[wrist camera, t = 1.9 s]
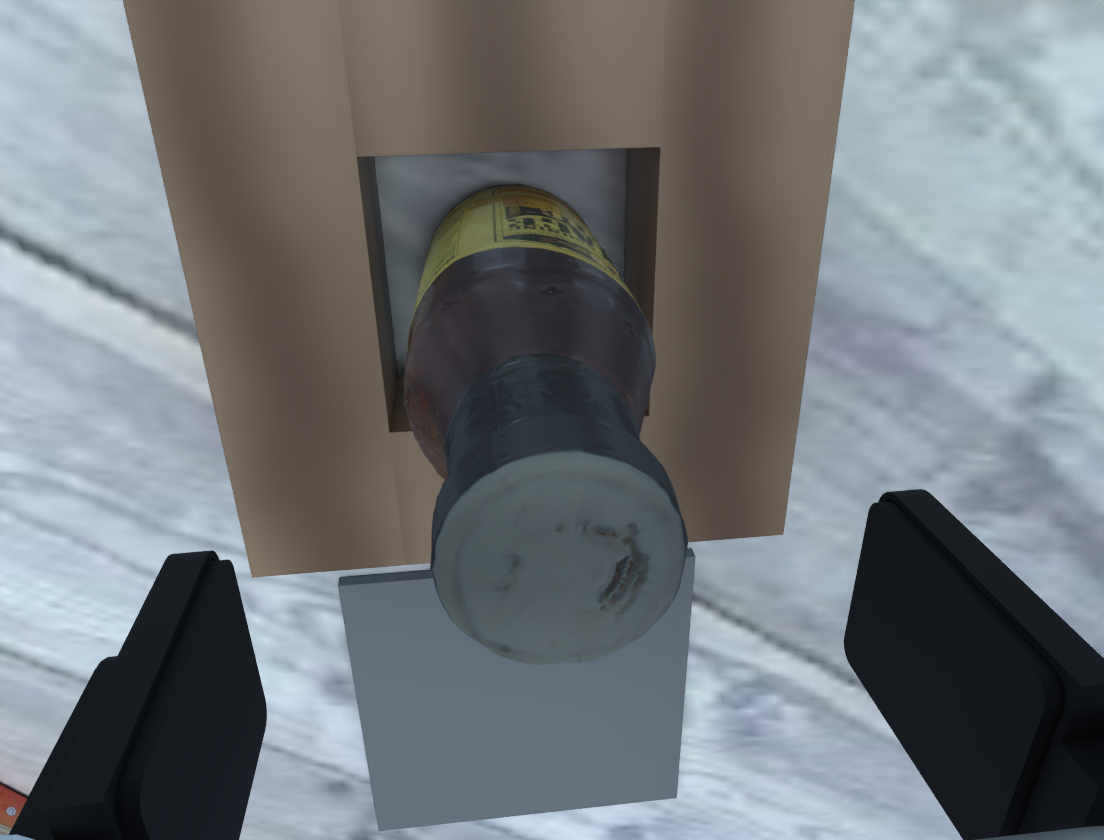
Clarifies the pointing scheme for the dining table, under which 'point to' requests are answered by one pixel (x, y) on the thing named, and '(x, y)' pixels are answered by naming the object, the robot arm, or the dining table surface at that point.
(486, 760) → the rubber mat
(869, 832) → the dining table surface
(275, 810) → the dining table surface
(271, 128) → the holder block
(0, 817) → the cracker box
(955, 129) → the dining table surface
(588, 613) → the sauce bottle
